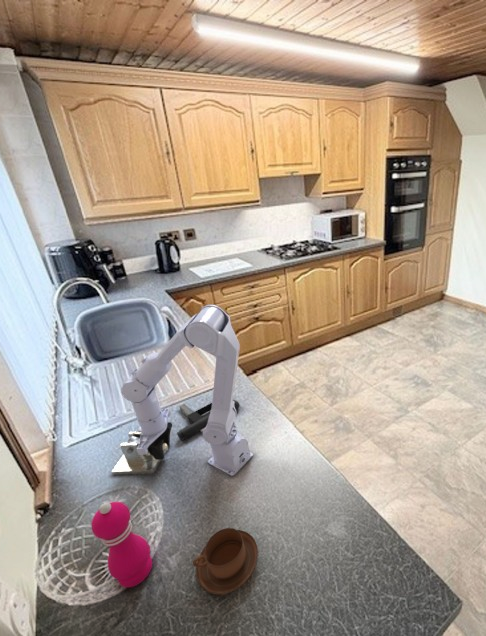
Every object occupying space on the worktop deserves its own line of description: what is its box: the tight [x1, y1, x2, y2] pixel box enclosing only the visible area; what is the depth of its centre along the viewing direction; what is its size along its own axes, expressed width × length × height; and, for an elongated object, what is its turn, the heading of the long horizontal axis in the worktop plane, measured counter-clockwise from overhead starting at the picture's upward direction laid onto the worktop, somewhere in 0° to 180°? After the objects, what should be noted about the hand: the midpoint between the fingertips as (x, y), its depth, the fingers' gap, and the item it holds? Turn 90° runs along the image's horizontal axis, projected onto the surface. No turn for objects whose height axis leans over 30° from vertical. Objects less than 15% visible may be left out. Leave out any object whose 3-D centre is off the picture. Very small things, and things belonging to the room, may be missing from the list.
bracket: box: [111, 430, 166, 475], centre depth 94 cm, size 11×9×8 cm
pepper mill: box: [91, 501, 153, 589], centre depth 66 cm, size 7×7×20 cm
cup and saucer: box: [192, 527, 259, 595], centre depth 69 cm, size 12×12×6 cm
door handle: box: [176, 398, 241, 441], centre depth 111 cm, size 3×20×16 cm
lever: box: [127, 436, 168, 454], centre depth 93 cm, size 10×3×3 cm, turn 90°
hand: (162, 453), depth 94 cm, fingers closed on lever, 3 cm apart
